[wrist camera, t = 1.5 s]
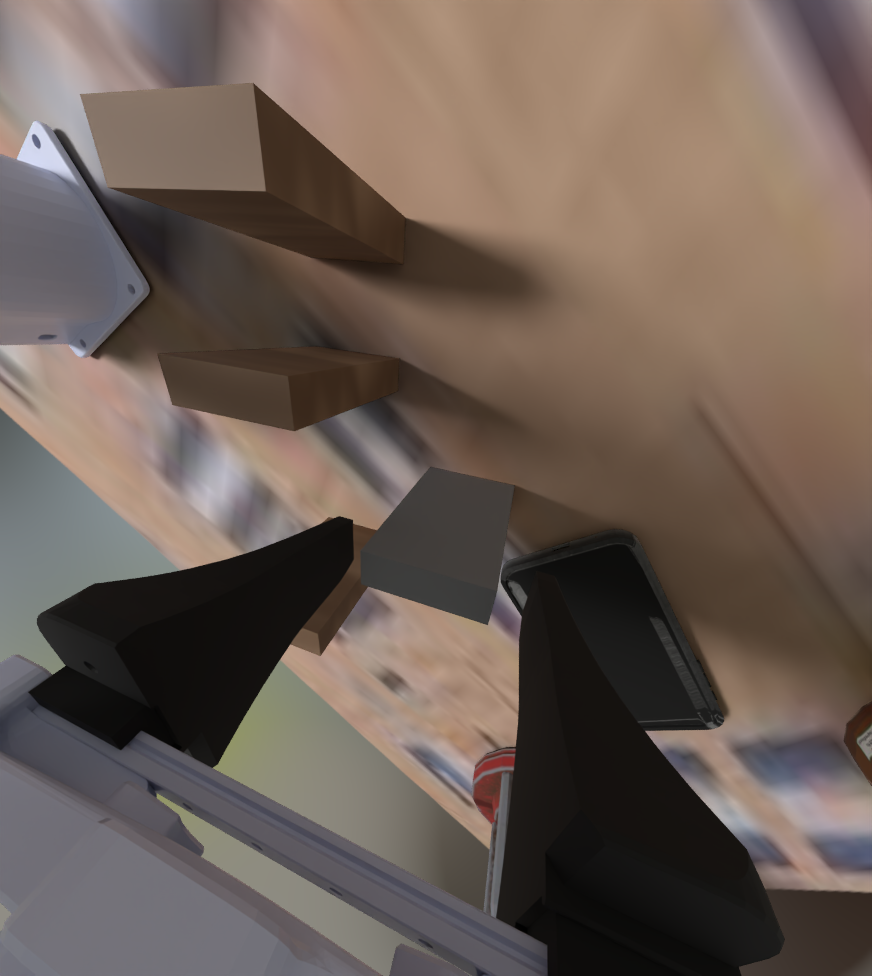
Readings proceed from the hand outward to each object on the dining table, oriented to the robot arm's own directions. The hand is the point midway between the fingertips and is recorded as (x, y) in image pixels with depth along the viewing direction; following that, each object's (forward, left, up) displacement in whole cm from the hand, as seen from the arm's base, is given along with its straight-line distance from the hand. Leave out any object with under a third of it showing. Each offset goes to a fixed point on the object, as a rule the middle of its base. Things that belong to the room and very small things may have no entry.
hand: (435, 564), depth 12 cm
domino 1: (-1, +13, -7) cm, 15 cm away
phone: (+5, -12, -7) cm, 15 cm away
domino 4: (0, 0, -7) cm, 7 cm away
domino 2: (-3, +8, -7) cm, 11 cm away
